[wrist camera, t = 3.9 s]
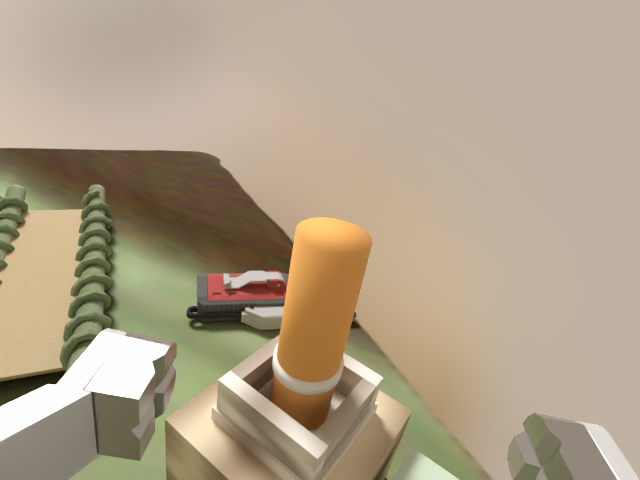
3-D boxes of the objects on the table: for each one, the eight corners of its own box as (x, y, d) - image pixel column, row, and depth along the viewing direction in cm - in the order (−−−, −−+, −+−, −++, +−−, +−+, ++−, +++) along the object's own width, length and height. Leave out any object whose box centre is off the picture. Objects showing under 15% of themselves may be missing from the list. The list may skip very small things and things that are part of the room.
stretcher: (113, 414, 34) (108, 372, 32) (-120, 466, 28) (-148, 419, 25) (113, 210, 65) (110, 181, 63) (4, 213, 59) (-3, 181, 57)
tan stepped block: (385, 476, 33) (425, 377, 27) (294, 629, 23) (328, 524, 18) (275, 394, 38) (291, 297, 33) (166, 492, 29) (164, 380, 24)
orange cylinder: (343, 403, 27) (390, 238, 21) (305, 448, 24) (347, 267, 18) (294, 369, 29) (324, 209, 23) (252, 406, 26) (274, 230, 20)
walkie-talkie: (185, 338, 43) (356, 328, 49) (186, 306, 41) (364, 300, 47) (187, 290, 50) (335, 287, 56) (187, 260, 48) (341, 260, 54)
